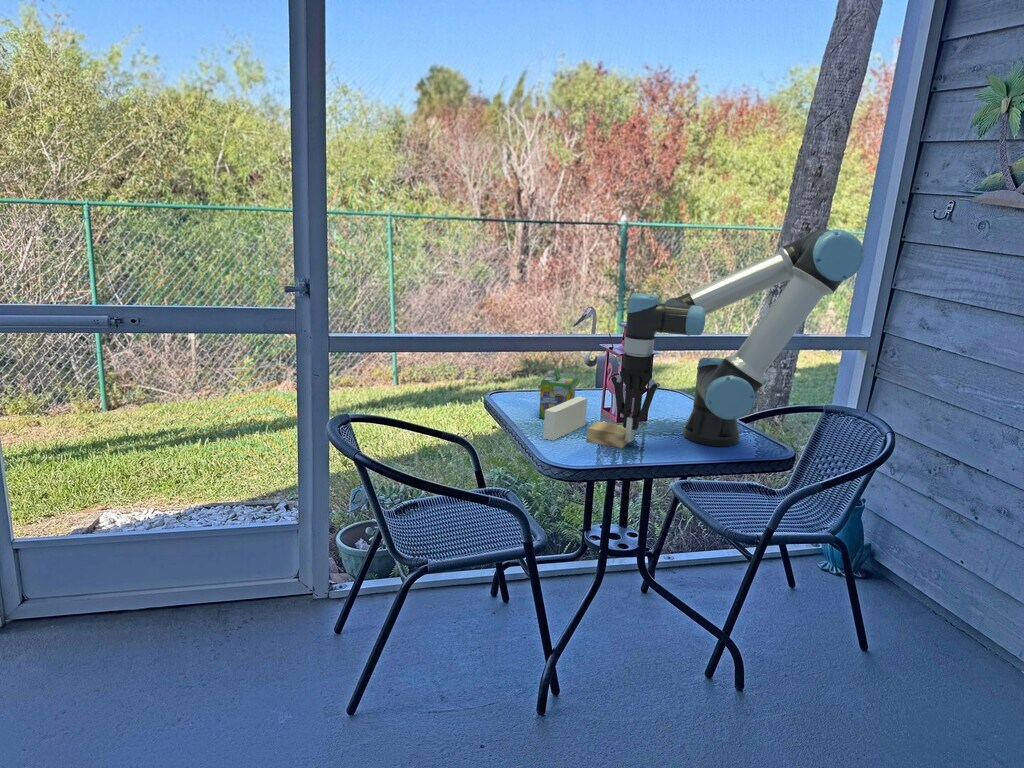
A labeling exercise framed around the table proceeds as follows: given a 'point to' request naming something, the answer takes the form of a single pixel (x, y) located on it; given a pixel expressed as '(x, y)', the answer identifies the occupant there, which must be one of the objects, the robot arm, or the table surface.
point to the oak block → (607, 434)
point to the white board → (565, 418)
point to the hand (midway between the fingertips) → (629, 440)
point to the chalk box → (555, 391)
